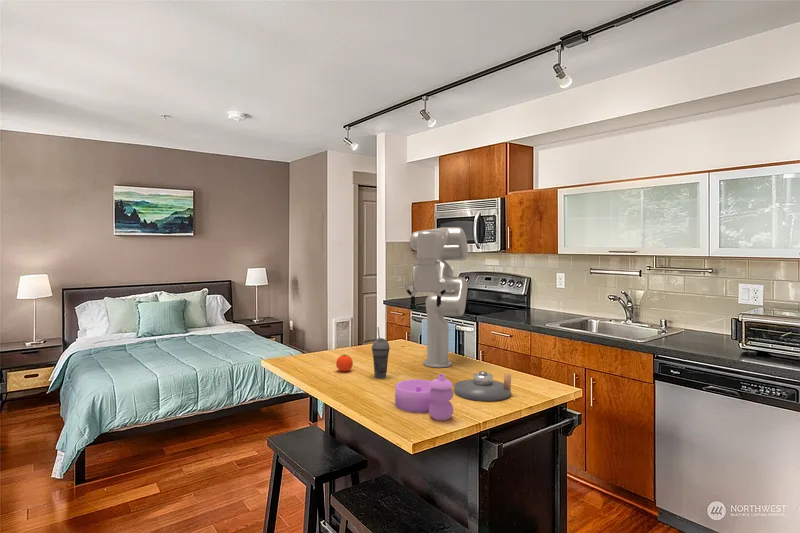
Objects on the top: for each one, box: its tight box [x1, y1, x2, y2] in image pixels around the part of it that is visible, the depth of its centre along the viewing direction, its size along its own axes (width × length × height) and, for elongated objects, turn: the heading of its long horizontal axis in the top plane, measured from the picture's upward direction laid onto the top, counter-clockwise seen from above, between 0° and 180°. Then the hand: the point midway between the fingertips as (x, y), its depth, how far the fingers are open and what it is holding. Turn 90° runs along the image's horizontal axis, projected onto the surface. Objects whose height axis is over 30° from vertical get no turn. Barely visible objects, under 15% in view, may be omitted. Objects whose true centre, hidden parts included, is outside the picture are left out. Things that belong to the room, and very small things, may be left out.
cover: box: [472, 370, 494, 386], centre depth 175 cm, size 7×7×4 cm
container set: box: [394, 373, 454, 421], centre depth 152 cm, size 25×15×13 cm, turn 28°
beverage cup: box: [371, 326, 391, 379], centre depth 190 cm, size 7×7×20 cm
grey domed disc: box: [453, 373, 512, 402], centre depth 171 cm, size 20×20×7 cm
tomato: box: [335, 354, 354, 373], centre depth 199 cm, size 8×7×7 cm
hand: (425, 306), depth 187 cm, fingers open, 9 cm apart
